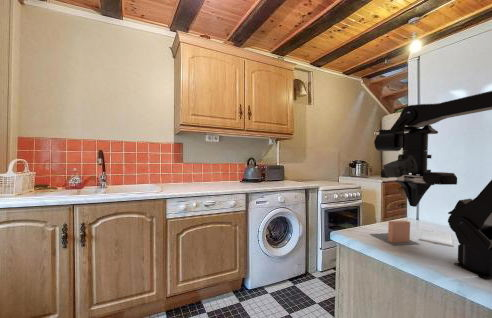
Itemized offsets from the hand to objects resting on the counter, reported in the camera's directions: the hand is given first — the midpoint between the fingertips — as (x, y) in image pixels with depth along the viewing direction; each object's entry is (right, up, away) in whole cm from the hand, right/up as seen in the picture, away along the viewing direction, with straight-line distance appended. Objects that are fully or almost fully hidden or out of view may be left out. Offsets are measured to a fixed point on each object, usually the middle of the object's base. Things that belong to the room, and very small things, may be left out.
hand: (413, 206), depth 65 cm
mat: (-1, -12, +7) cm, 14 cm away
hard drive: (+13, -13, +8) cm, 20 cm away
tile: (-1, -12, +5) cm, 12 cm away
